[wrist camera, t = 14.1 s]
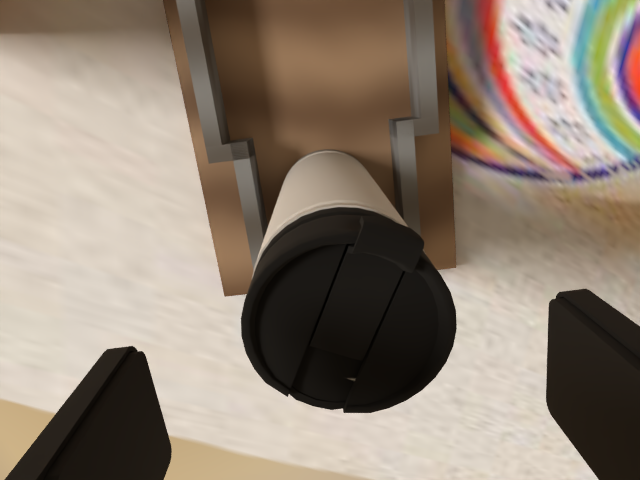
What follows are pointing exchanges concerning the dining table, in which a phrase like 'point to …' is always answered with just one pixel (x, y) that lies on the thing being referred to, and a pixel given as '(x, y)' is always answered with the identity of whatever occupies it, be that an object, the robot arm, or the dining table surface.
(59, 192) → the dining table surface
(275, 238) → the travel mug
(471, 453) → the dining table surface
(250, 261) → the keyhole cradle
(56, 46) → the dining table surface
